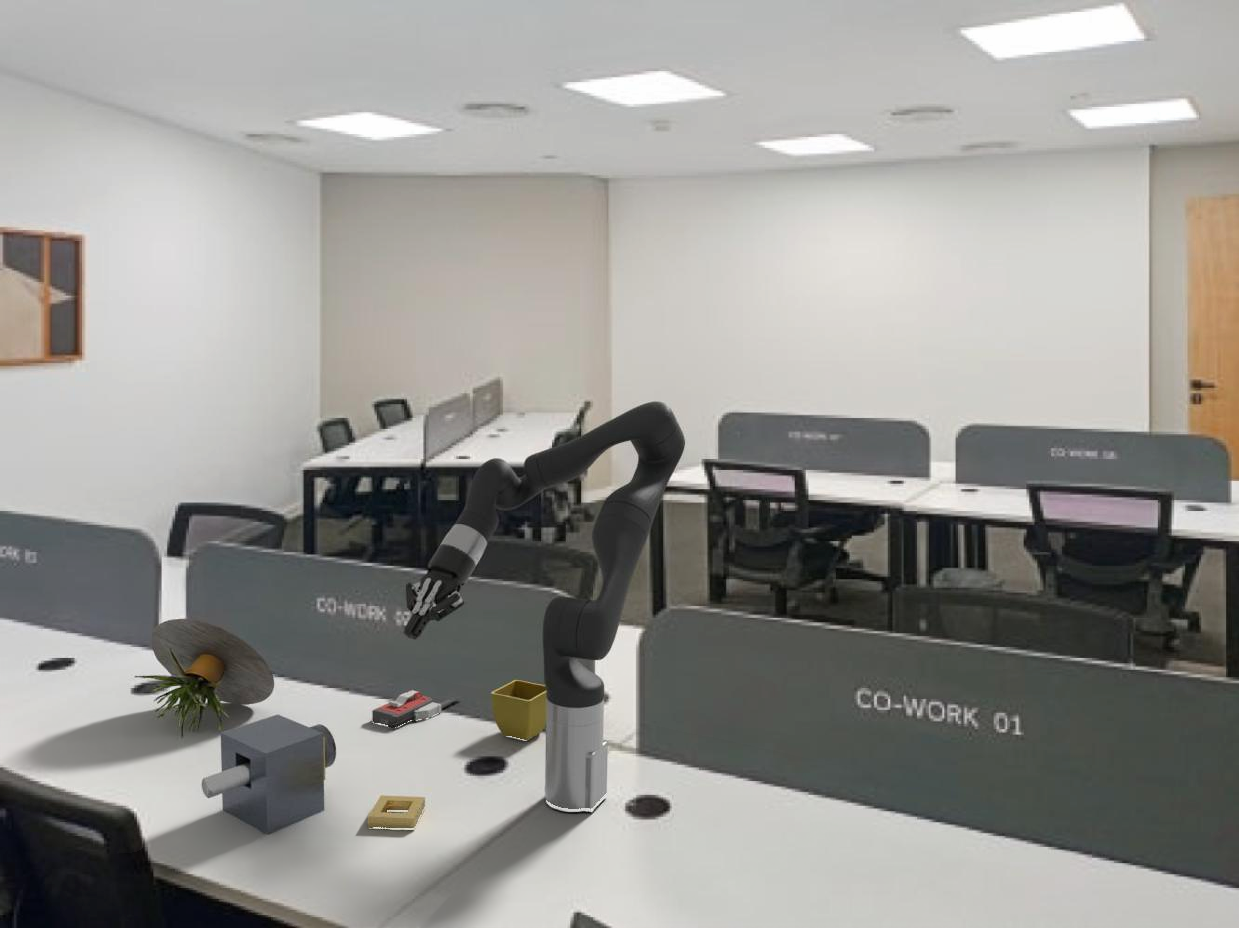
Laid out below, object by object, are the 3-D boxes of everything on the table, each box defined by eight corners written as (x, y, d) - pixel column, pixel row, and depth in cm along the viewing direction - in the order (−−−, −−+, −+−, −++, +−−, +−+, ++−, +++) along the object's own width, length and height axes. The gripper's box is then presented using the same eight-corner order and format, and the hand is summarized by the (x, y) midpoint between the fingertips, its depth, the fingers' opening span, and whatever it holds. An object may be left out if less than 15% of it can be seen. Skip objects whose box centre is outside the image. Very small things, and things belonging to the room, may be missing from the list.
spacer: (425, 809, 154) (425, 797, 154) (413, 831, 147) (413, 818, 147) (380, 807, 155) (380, 795, 154) (367, 829, 148) (367, 816, 147)
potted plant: (139, 747, 192) (79, 685, 173) (188, 670, 203) (138, 603, 184) (250, 779, 186) (201, 717, 168) (295, 697, 197) (254, 632, 179)
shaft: (310, 760, 162) (309, 719, 161) (336, 772, 158) (335, 730, 157) (195, 803, 146) (193, 758, 145) (221, 817, 142) (219, 771, 141)
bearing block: (279, 787, 160) (277, 714, 159) (324, 809, 153) (323, 733, 152) (222, 809, 153) (220, 732, 151) (267, 834, 145) (265, 753, 144)
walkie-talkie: (400, 736, 184) (465, 703, 201) (400, 713, 183) (465, 682, 201) (365, 726, 188) (431, 694, 205) (364, 704, 187) (431, 674, 205)
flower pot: (489, 738, 182) (489, 692, 181) (515, 723, 190) (515, 678, 189) (528, 748, 178) (529, 701, 177) (554, 732, 186) (554, 686, 185)
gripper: (495, 572, 177) (448, 655, 169) (441, 561, 184) (393, 640, 176) (476, 548, 172) (426, 632, 164) (421, 537, 179) (370, 618, 171)
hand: (409, 636), depth 170 cm, fingers closed
